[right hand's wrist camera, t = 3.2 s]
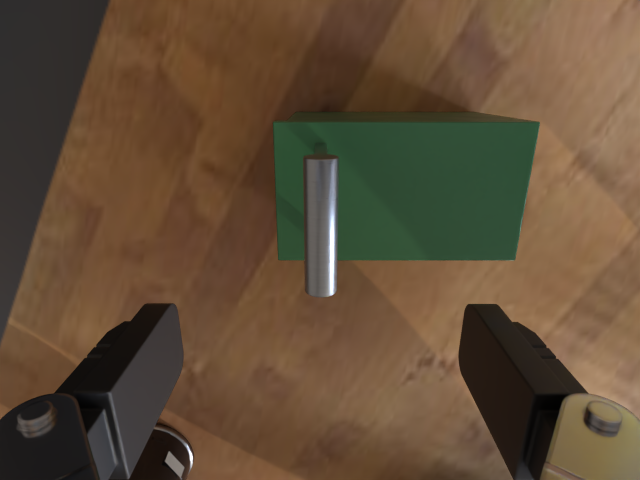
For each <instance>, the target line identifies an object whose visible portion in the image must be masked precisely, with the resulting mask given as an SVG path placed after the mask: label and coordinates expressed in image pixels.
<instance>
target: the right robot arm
mask: <svg viewBox="0 0 640 480" xmlns="http://www.w3.org/2000/svg"><path fill="white" fill-rule="evenodd" d="M182 366H183V345H182V338H181V331H180V324H179V316H178V310H177V307H176V305H175V304H173V303H147V304H144V305H143V307H142V308H141V309H140V310H139V312H138V313H137V314H136V315H135V316H134V318H133V319H132V320H131V321H124V322H123V323H121V324H120V325H118V326H116V327H115V328H113V329H112V330H110V331H109V332H107V333H106V334H105V336H104V337H103V338H102V339H101V340H100V341H99V342H98V344H97V346H96V347H94V348H93V349H92V350H91V352H90V353H89V354H88V355H87V358H85V359H84V360H83V361H82V362H81V363H80V364H79V365H78V367H77V368H76V369H75V370H74V371H73V372H72V373H71V375H70V376H69V377H68V378H67V379H66V380H65V381H64V383H63V384H62V385H61V386H60V387H59V388H58V389H57V391H56V392H55V393H54V394H47V395H43V396H39V397H36V398H33V399H31V400H28V401H26V402H24V403H22V404H20V405H19V406H17V407H15V408H14V409H12V410H11V411H9V412H8V413H7V414H6V415H5V416H3V417H2V419H1V420H0V480H186V479H187V476H188V474H189V472H190V470H191V467H192V464H193V460H194V454H193V450H192V447H191V445H190V444H189V442H188V441H187V440H186V438H185V437H184V436H183V435H181V434H180V433H179V432H177V431H175V430H174V429H172V428H170V427H167V426H164V425H160V424H156V423H157V421H158V419H159V417H160V415H161V413H162V411H163V409H164V406H165V404H166V402H167V400H168V398H169V396H170V394H171V392H172V390H173V388H174V386H175V384H176V382H177V380H178V378H179V376H180V373H181V370H182ZM459 366H460V371H461V374H462V376H463V378H464V380H465V382H466V384H467V386H468V388H469V390H470V393H471V395H472V397H473V399H474V401H475V403H476V405H477V407H478V409H479V411H480V413H481V415H482V417H483V419H484V421H485V423H486V425H487V427H488V429H489V431H490V433H491V435H492V437H493V439H494V441H495V443H496V445H497V447H498V449H499V451H500V453H501V455H502V457H503V459H504V461H505V463H506V465H507V467H508V469H509V471H510V473H511V475H512V477H513V479H514V480H640V420H639V419H638V417H636V416H635V415H634V414H633V413H632V412H631V411H629V410H628V409H626V408H625V407H623V406H621V405H620V404H618V403H616V402H614V401H612V400H609V399H607V398H604V397H601V396H597V395H593V394H588V392H587V391H586V390H585V389H584V388H583V387H582V386H581V384H580V383H579V382H578V381H577V380H576V379H575V378H574V377H573V375H572V374H571V373H570V372H569V371H568V370H567V369H566V367H565V366H564V365H563V364H562V363H561V362H560V361H559V359H556V356H555V355H554V354H553V353H552V352H551V350H550V349H549V348H546V345H545V344H544V342H543V341H542V340H541V339H540V338H539V337H538V336H537V335H536V333H534V332H533V331H531V330H530V329H528V328H526V327H525V326H523V325H522V324H520V323H518V322H512V321H511V320H510V319H509V318H508V317H507V315H506V314H505V313H504V312H503V310H502V309H501V308H500V307H499V306H498V305H497V304H468V305H467V306H466V308H465V312H464V318H463V325H462V332H461V339H460V347H459Z"/></svg>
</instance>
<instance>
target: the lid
mask: <svg viewBox="0 0 640 480" xmlns="http://www.w3.org/2000/svg"><path fill="white" fill-rule="evenodd" d="M539 126H540V122H537V121H530V120H276V121H274V122H273V140H274V165H275V191H276V217H277V242H278V260H305V291H306V293H307V294H309V295H311V296H314V297H328V296H331V295H333V294H335V293H336V291H337V260H515V258H516V252H517V247H518V241H519V236H520V230H521V225H522V219H523V214H524V208H525V203H526V197H527V192H528V186H529V181H530V175H531V170H532V164H533V159H534V153H535V148H536V142H537V137H538V131H539Z"/></svg>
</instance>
